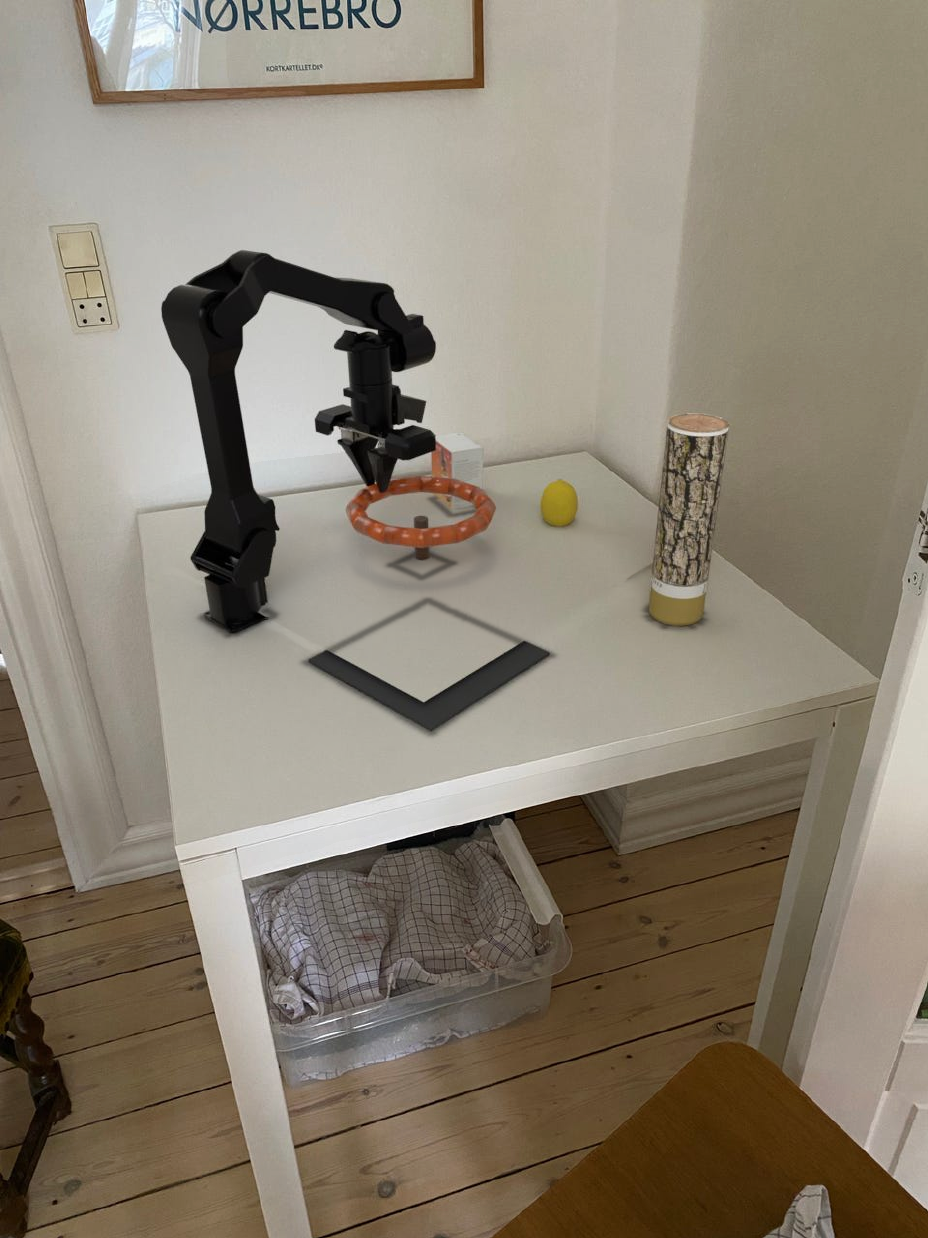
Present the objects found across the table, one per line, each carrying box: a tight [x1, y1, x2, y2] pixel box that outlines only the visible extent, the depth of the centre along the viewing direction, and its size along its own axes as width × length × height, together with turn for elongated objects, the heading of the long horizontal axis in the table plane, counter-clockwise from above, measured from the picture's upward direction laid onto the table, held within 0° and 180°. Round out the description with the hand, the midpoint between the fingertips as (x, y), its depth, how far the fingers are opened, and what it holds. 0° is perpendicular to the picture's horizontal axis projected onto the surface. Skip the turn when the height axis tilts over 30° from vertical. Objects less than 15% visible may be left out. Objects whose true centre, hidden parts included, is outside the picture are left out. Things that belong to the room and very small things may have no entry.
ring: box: [345, 474, 497, 548], centre depth 125 cm, size 20×20×2 cm
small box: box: [430, 431, 485, 510], centre depth 145 cm, size 8×6×10 cm
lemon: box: [540, 478, 579, 528], centre depth 137 cm, size 6×6×8 cm
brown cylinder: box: [413, 515, 431, 561], centre depth 128 cm, size 6×6×7 cm
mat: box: [307, 640, 550, 732], centre depth 108 cm, size 20×20×1 cm
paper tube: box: [648, 412, 730, 627], centre depth 110 cm, size 7×7×25 cm
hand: (377, 489), depth 130 cm, fingers closed on ring, 2 cm apart
